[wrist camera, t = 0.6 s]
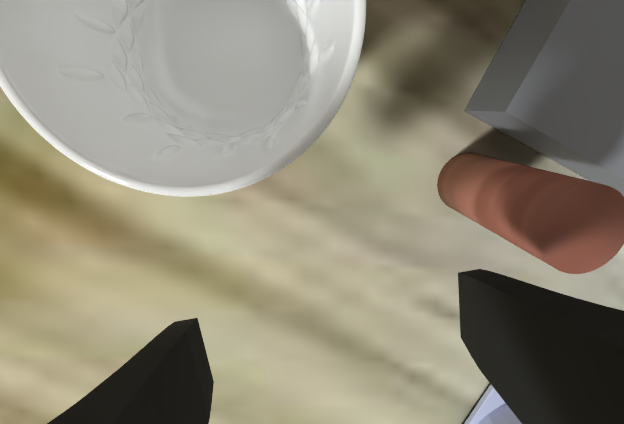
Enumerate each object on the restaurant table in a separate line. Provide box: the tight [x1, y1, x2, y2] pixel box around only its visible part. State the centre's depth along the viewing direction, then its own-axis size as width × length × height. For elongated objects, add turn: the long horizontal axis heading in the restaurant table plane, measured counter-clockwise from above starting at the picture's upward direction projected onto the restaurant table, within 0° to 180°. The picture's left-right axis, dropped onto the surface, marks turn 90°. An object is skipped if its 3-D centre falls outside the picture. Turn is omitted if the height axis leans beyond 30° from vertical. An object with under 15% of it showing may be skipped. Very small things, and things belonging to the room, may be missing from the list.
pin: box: [437, 153, 624, 274], centre depth 16 cm, size 3×3×8 cm
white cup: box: [0, 0, 366, 197], centre depth 12 cm, size 8×8×10 cm
